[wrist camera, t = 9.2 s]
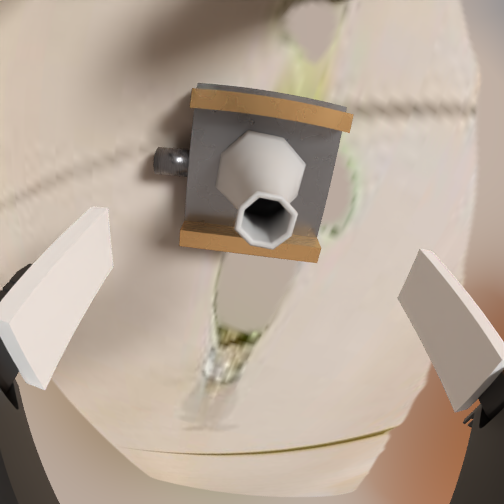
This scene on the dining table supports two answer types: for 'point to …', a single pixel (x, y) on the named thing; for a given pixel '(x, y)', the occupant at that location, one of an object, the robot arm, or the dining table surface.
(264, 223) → the flask
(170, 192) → the dining table surface
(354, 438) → the dining table surface
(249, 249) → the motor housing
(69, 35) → the dining table surface
